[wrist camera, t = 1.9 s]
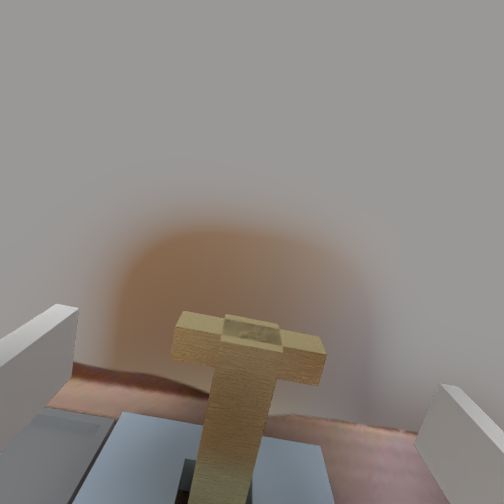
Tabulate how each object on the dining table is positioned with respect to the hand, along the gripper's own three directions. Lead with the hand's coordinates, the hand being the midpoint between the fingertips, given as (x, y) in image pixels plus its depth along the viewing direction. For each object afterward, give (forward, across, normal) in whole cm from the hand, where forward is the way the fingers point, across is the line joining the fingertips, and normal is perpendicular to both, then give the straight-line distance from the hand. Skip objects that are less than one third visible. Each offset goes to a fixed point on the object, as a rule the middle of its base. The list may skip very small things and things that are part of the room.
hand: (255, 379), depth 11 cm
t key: (+10, +1, -21) cm, 23 cm away
